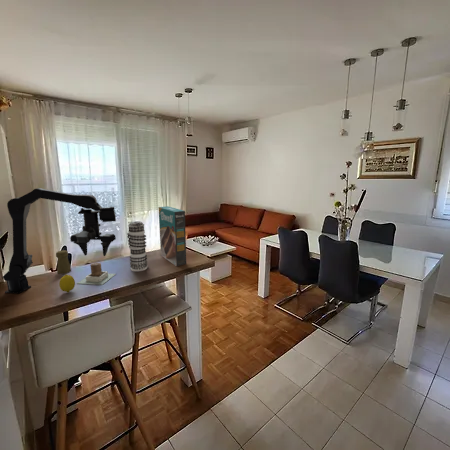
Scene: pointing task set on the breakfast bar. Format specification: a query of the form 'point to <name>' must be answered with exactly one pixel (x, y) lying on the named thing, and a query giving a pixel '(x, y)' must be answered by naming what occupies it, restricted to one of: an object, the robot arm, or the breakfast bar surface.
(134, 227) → the decorative candle
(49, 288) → the breakfast bar surface
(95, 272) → the peg
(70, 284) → the lemon
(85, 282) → the socket
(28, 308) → the breakfast bar surface
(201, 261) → the breakfast bar surface
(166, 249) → the cake mix box
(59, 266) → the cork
